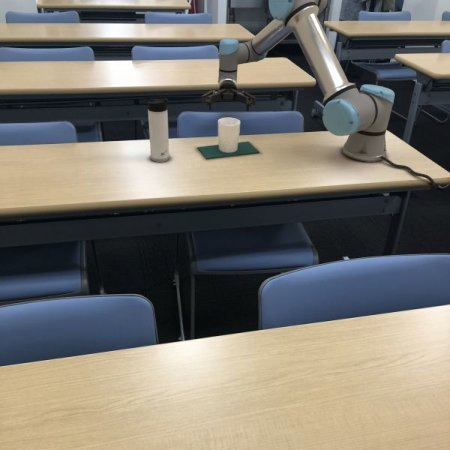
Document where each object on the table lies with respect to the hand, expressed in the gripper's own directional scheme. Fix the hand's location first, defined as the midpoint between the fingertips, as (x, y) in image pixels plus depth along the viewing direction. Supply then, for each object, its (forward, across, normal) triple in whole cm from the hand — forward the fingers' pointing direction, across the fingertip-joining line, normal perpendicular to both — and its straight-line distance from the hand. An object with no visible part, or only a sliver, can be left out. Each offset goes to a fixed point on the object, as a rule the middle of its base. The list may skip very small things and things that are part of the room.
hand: (229, 107), depth 174 cm
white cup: (+10, 0, -12) cm, 15 cm away
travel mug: (+18, +24, -12) cm, 32 cm away
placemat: (+10, 0, -12) cm, 16 cm away
